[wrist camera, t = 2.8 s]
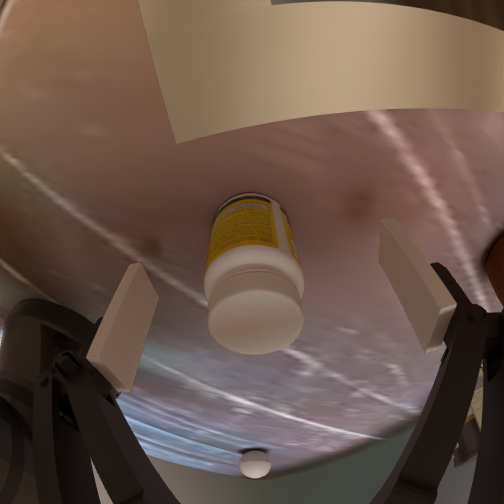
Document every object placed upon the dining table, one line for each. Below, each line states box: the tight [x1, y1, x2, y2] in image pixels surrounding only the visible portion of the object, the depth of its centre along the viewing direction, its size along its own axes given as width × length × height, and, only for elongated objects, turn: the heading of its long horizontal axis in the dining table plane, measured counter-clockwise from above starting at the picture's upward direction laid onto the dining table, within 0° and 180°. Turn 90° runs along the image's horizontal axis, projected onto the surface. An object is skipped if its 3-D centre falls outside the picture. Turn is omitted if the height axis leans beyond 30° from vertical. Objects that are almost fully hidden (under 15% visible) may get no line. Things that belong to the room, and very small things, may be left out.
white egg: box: [235, 450, 271, 478], centre depth 41 cm, size 8×6×6 cm
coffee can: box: [452, 364, 483, 468], centre depth 29 cm, size 10×10×14 cm
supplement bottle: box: [204, 193, 305, 355], centre depth 15 cm, size 5×5×8 cm
